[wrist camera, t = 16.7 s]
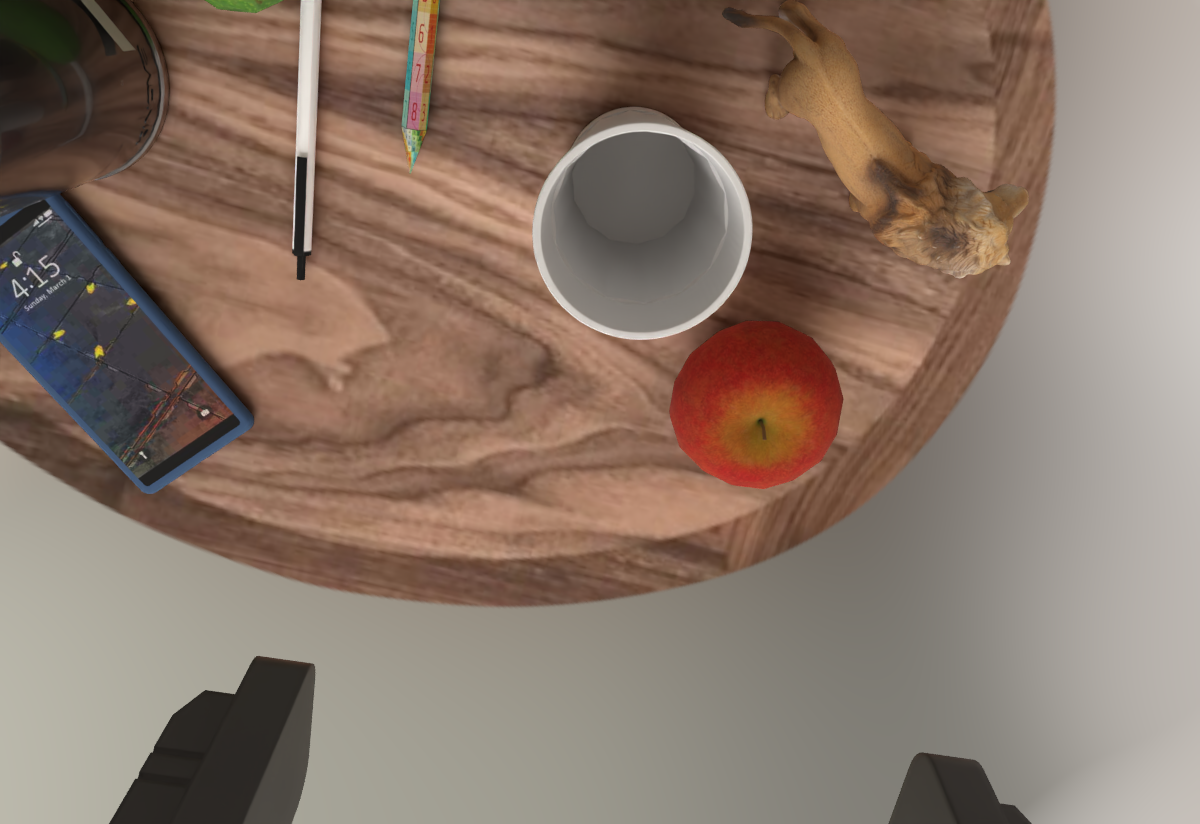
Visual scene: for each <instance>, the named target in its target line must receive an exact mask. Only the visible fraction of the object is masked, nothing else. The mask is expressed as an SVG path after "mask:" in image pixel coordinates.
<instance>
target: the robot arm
mask: <svg viewBox="0 0 1200 824" xmlns="http://www.w3.org/2000/svg"><path fill="white" fill-rule="evenodd" d="M168 103H169V80H168V72H167V67H166V63H165V59H164V56H163V53H162V50H161V47H160V45H159V42H158V40H157V38H156V36H155V34H154V32H153V30H152V29H151V27H150V25H149V24H148V22H147V21H146V19H145V18H144V16H143V15H142V14H141V12H140V11H139V10H138V9H137V7H136V6H135V5H134V4H133V3H132V2H131V1H130V0H0V217H2V216H4V215H7V214H9V213H12V212H14V211H17V210H20V209H22V208H25V207H27V206H30V205H32V204H35V203H37V202H40V201H42V200H45V199H47V198H50V197H52V196H55V195H57V194H60V193H62V192H65V191H67V190H70V189H72V188H75V187H78V186H80V185H83V184H85V183H88V182H90V181H93V180H99V179H102V178H106V177H109V176H111V175H114V174H116V173H119V172H121V171H123V170H125V169H127V168H129V167H130V166H132V165H133V164H135V163H136V162H137V161H139V160H140V159H141V158H142V157H143V156H144V155H145V154H146V153H147V152H148V151H149V150H150V148H151V147H152V146H153V144H154V143H155V141H156V140H157V138H158V136H159V134H160V132H161V130H162V127H163V125H164V122H165V118H166V115H167V109H168ZM314 684H315V666H314V664H311V663H304V662H297V661H290V660H283V659H276V658H269V657H261V656H256V657H255V658H254V660H253V661H252V663H251V664H250V666H249V668H248V670H247V672H246V674H245V676H244V678H243V680H242V682H241V684H240V686H239V688H238V690H237V692H236V694H229V693H222V692H215V691H207V690H205V691H204V692H202V693H201V694H200V695H198V696H197V697H196V698H194V699H193V700H192V701H191V702H189V703H188V704H186V705H185V706H184V707H183V708H181V709H180V710H179V711H177V712H176V713H175V714H173V715H172V717H171V719H170V720H169V722H168V724H167V726H166V727H165V729H164V731H163V732H162V734H161V736H160V738H159V740H158V741H157V743H156V744H155V746H154V751H153V753H150V755H149V756H148V758H147V760H146V761H145V763H144V765H143V767H142V768H141V770H140V772H139V777H138V779H135V780H134V782H133V784H132V785H131V787H130V789H129V791H128V792H127V795H126V796H125V797H124V799H123V801H122V803H121V804H120V806H119V808H118V809H117V811H116V813H115V815H114V817H113V818H112V820H111V821H110V823H109V824H292V821H293V818H294V815H295V812H296V810H297V807H298V804H299V801H300V797H301V794H302V790H303V786H304V782H305V777H306V772H307V766H308V758H309V748H310V735H311V723H312V710H313V697H314ZM889 824H1031V822H1029V821H1028V819H1027V818H1026V817H1025V816H1024V815H1023V814H1022V813H1021V812H1020V811H1019V810H1018V809H1017V808H1016V807H1015V806H1013V805H1006V804H1000V803H999V801H998V799H997V797H996V795H995V793H994V790H993V788H992V786H991V784H990V782H989V780H988V778H987V776H986V774H985V772H984V770H983V768H982V766H981V765H980V764H979V763H978V762H977V761H975V760H971V759H964V758H957V757H950V756H942V755H936V754H928V753H919V754H917V755H916V756H915V757H914V758H913V760H912V762H911V764H910V767H909V769H908V772H907V775H906V778H905V780H904V783H903V786H902V788H901V791H900V794H899V797H898V799H897V802H896V805H895V808H894V810H893V813H892V816H891V818H890V821H889Z"/></svg>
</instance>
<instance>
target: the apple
mask: <svg viewBox="0 0 1200 824" xmlns="http://www.w3.org/2000/svg"><path fill="white" fill-rule="evenodd" d="M842 404H843V395H842V392H841V388H840V384H839V381H838V377H837V373H836V370H835V368H834V366H833V364H832V362H831V361H830V359H829V358H828V357H827V356H826V354H825V353H824V352H823V351H822V349H821V348H820V347H819V346H818V345H817V343H816V342H815V341H814V340H813V338H811V337H809V336H807V335H806V334H804V333H801V332H799V331H797V330H795V329H793V328H791V327H789V326H787V325H785V324H783V323H781V322H778V321H744V322H742V323H739V324H736V325H734V326H731V327H728V328H726V329H723V330H720V331H719V332H717V333H716V334H715V335H713V336H712V337H711V338H710V339H708V340H707V341H706V342H705V343H703V344H702V345H701V346H700V347H698V348H697V349H696V350H695V351H693V352H692V353H691V354H690V355H689V357H688V359H687V361H686V362H685V364H684V366H683V368H682V370H681V371H680V373H679V375H678V377H677V378H676V380H675V382H674V387H673V393H672V399H671V405H670V417H671V421H672V424H673V427H674V431H675V434H676V437H677V440H678V443H679V446H680V448H681V449H682V450H683V451H684V452H685V453H686V454H687V455H688V456H689V457H690V458H691V459H692V460H693V461H694V462H695V463H696V464H697V465H698V466H699V467H700V468H701V469H702V470H703V471H705V472H707V473H709V474H711V475H713V476H715V477H717V478H719V479H721V480H723V481H725V482H727V483H729V484H731V485H736V486H744V487H752V488H760V489H765V488H769V487H772V486H775V485H779V484H782V483H786V482H789V481H792V480H794V479H796V478H797V477H799V476H800V475H802V474H803V473H804V472H806V471H807V470H809V469H810V468H812V467H813V466H814V465H816V464H817V463H819V462H820V461H821V460H822V458H823V457H824V455H825V453H826V452H827V450H828V448H829V447H830V445H831V443H832V442H833V440H834V438H835V436H836V435H837V431H838V426H839V420H840V415H841V409H842Z"/></svg>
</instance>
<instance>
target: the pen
mask: <svg viewBox="0 0 1200 824" xmlns="http://www.w3.org/2000/svg"><path fill="white" fill-rule="evenodd" d="M321 4H322V0H301V13H300V42H299V72H298V101H297V130H296V160H295V189H294V219H293V248H292V253H293V254H294V255H295V256H297V279H298V280H305V264H306V256H309V255H311V247H312V222H313V198H314V174H315V150H316V125H317V101H318V77H319V53H320V28H321Z"/></svg>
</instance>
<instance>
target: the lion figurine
mask: <svg viewBox="0 0 1200 824" xmlns="http://www.w3.org/2000/svg"><path fill="white" fill-rule="evenodd" d="M722 15H723V17H724V18H726V19H727V20H729V21H731V22H732V23H734V24H736V25H737V26H739V27H742V28H763V29H769V30H771V31H774V32H776V33H778V34H780V35H782V36H783V37H784V38H785V39H786V40H787V41H788V42H789V44H790V45H791V46H792V48H793V56H794V59H793V60H792V61H790V62H789V63H788V64H787V65H786V66H785V68H784V69H783V72H782V74H781V76H779V75H778V74H774V75H772V76H771V77H770V79H769V89H768V92H767V95H766V98H765V110H766V112H767V114H768V116H769V117H770V118H773V119H776V120H779V119H781V118H783V117H785V116H786V115H787V114H788V113H789V112H790V113H791V114H794V115H795V116H797V117H799V118H805V119H806V120H807V121H809V122H810V123H811V124H812V125H813V126H814V127H815V128H816V130H817V132H818V135H819V138H820V141H821V144H822V147H823V149H824V151H825V153H826V155H827V157H828V159H829V160H830V162H831V163H832V164H833V166H834V169H835V171H836V172H837V174H838V176H839V177H840V179H841V181H842V182H843V183H844V185H845V186H846V187H847V188H848V190H849V191H850V192H851V194H850V197H849V205H850V207H851V209H852V210H853V211H855V212H860V214H861V216H862V217H863V218H865V219H866V220H868V221H869V223H870V227H871V230H872V232H873V234H874V236H875V237H876V238H877V239H878V240H879V241H880V242H881V243H882V244H883V245H886V246H887V247H890V248H892V249H893V251H894V252H895V253H896V254H897V255H899V256H901V257H904V258H908V259H910V260H912V261H915V262H916V263H917V264H921V265H927V266H930V267H932V268H935V269H937V268H938V269H939V270H940V271H941V272H943V273H946V274H951V275H953V276H955V277H956V278H963V277H965V276H966V275H967V274H973V275H976V274H980V273H982V272H983V271H984V270H987V269H989V268H991V267H993V266H994V265H996V264H998V265H1008V264H1010V259H1009V256H1008V254H1007V253H1008V251H1009V248H1008V245H1007V243H1006V242H1007V240H1008V235H1009V234H1010V233H1011V231H1012V227H1013V218H1015V217H1016V216H1017V215H1018V214H1019V213H1020V212H1021V211H1022V210H1023V209H1024V208H1025V207H1026V206H1027V204H1028V199H1029V197H1028V192H1027V190H1025V189H1024V188H1022V187H1016V186H1014V185H1011V184H1004V185H1001V186H999V187H997V188H996V189H995V190H992V191H988V192H982V191H980V190H979V189H978V188H976V187H975V185H974V184H973V183H972V182H971V180H969V179H968V178H965V177H961V178H957V177H956V176H955V175H954V174H953V173H951V172H950V171H949V170H948V169H946V168H945V167H944V166H942V165H939V164H934V163H932V162H931V161H930V159H929V158H928V157H927V155H926V154H924V153H922V152H919V151H918V150H917V149H915V148H914V147H912V145H911V143H910V142H909V141H906V140H905V139H904V137H903V135H902V134H901V132H900V131H899V130H898V128H897V127H896V126H895V125H894V124H893V123H892V122H891V121H890V120H889V119H888V118H887V117H886V116H885V115H884V114H883V113H882V112H881V111H880V110H879V109H878V108H877V107H876V106H875V105H874V104H873V103H872V102H870V101H869V100H868V99H866V97H865V95H864V93H863V89H862V85H861V80H860V74H859V69H858V65H857V63H856V61H855V59H854V58H853V57H852V55H851V54H850V52H849V51H848V50H847V49H846V45H845V43H844V41H843V40H842V38H840V37H839V36H838V35H837V34H835V33H833V32H831V31H829V30H828V29H827V28H825V27H824V26H823V25H822V24H821V23H819V22H818V21H817V20H816V19H815V18H814V16H813V15H812V14H811V13H810V12H809V10H808V9H807V7H806V6H805V5H804V4H802V3H799V2H797V1H796V0H787V1H786V2H784V3H783V4H782V5H781V6H780V7H779V17H776V16H762V15H750V14H747V13H745V12H744V11H743V10H737V9H734V8H726V9H725V10H724V11H723V12H722ZM799 29H801V30H802V31H803V32H804V33H805V34H806V35H807V36H806V35H805V34H804V33H803V32H801V31H800V30H799Z"/></svg>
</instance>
